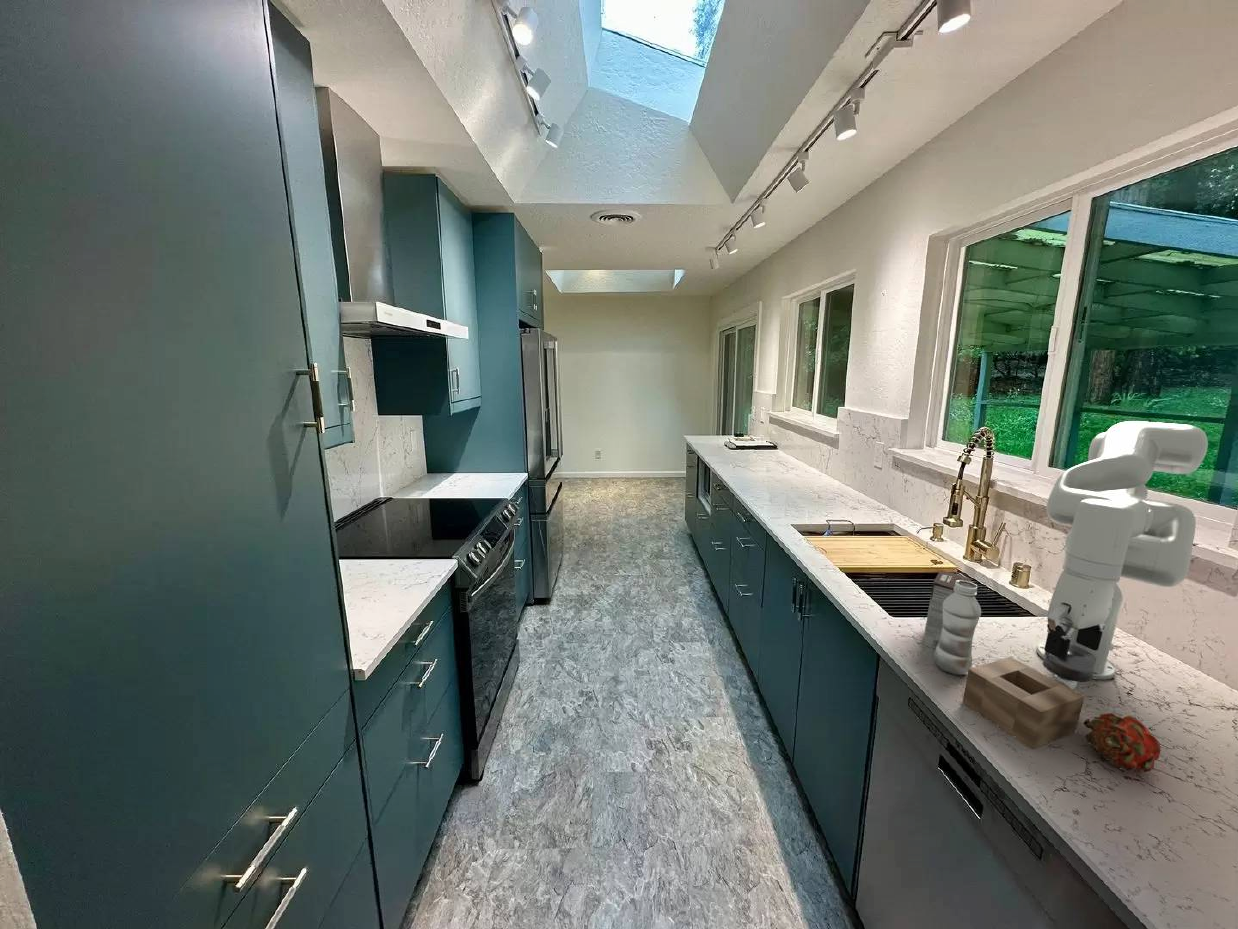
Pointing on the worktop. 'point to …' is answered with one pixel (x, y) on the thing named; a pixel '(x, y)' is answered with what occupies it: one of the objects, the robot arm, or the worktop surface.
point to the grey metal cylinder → (1071, 666)
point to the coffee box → (939, 606)
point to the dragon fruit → (1123, 742)
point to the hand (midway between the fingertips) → (1070, 650)
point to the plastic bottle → (958, 629)
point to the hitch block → (1023, 701)
